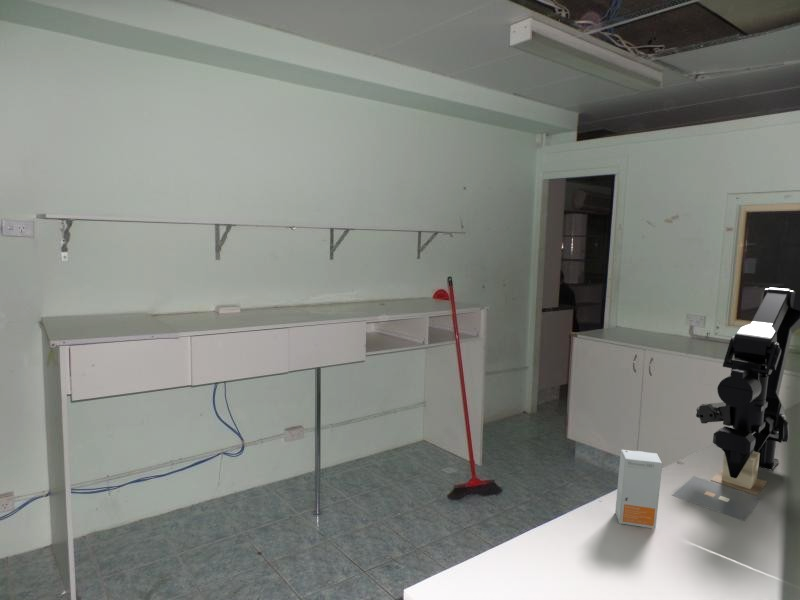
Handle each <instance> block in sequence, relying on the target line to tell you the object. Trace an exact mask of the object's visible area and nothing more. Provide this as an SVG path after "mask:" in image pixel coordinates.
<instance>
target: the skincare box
mask: <svg viewBox="0 0 800 600" xmlns="http://www.w3.org/2000/svg"><path fill="white" fill-rule="evenodd" d="M662 470H663V462H662V461H661V458H660V457H659V455H658V453H656V452H649V451H648V452H647V451H641V450H628V449H620V457H619V468H618V479H617V488H616V489H617V491H616V498H615V500H616V501H615V514H616V517H617V521H618V524H622V525H629V526H635V527H636V526H637V527H642V528H648V529H652V528H653V530H655V529H656V526H657V519H658V508H659V501H660V500H659V499H660V489H661V481H662Z"/></svg>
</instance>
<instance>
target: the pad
mask: <svg viewBox="0 0 800 600" xmlns="http://www.w3.org/2000/svg"><path fill="white" fill-rule="evenodd" d="M722 471H723V468H722V469H720V470H719V471H718V472H717V473H716V474H715V475H714V476H713V477H711V479H710V481H711V482H714V483H717V484H720V485H723V486H727V487H730V488H733V489H736V490H739V491H742V492H745V493H748V494H751V495H754V496H758V495H759V494H760V492H761V491H762V490H763V488H764V487H765V486H766V485H767V483H768V480H763V479H760V478H757V481H756V483H755V484H754V485H753V486H752V488H751V489H748V488H745V487H742V486H739V485H735V484H732V483H729V482H726V481H722Z"/></svg>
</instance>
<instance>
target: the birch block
mask: <svg viewBox="0 0 800 600" xmlns="http://www.w3.org/2000/svg"><path fill="white" fill-rule="evenodd" d="M723 452H724V451H723ZM759 457H760V453H758V452H755V451H753V453H752V455H751V456H750V458H749V459H748V461H747V463H746V464H745V466H744V467H743V469H742V471H741V472H740V474H739V475H738V477H737V478H732V477H730V473H729V469H728V464H727V460H726V456H725V452H724V454H723V463H722V469H723V471H722V481H726V482H729V483H732V484H735V485H739V486H742V487H745V488H748V489H751V488H752V486H753V485H754V484H755V483H756V481H757V479H758V472H759Z"/></svg>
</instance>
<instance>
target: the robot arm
mask: <svg viewBox="0 0 800 600" xmlns="http://www.w3.org/2000/svg"><path fill="white" fill-rule="evenodd" d="M760 299H761V300H760V304H759V307H758V309H757V311H756V312H755V314H754V316H753V318H752V320H751V322H750V323H749V324H745V325H743V326H741V327H740V328H738V330H737V331H736V332H735V334H734V336H731V338H730V340H729V343H728V346H727V350H726V352H725V353H726V354H725V357H724V360H723V364H722V367H723V368H728V369H730V374H729V375H728V376H726V377H724V378H723V379H722V380H721V381H720V382H719V383H718V386H717V388H716V389H717V395H718V397H719V399H720V401H721V402H712V403H702V404H700V405H699V406H698V407H697V408H696V414H695V417H697V418H698V419H699V420H700V423H701V424H708V423H717V422H722V425H723V426H722V427H721V428H719V429H718V430H716V431H715V432H714V433H713V436H712V437H713V438H712V443H713V444H714V445H715V446H716V447H717V448H720V449H721V450H722V451H723V452H725V456H726V460H727V464H728V469H729V473H730V477H732V478H737V477H738V475H739V474H740V472H741V471H742V469H743V467H744V466H745V464H746V463H747V461H748V459H749V458H750V456H751V455H752V453H753V451H755V452H758V453H760V457H759V466H758V468H759V467H760V468H763V469H767V470H770V469H771V470H770V471H773V469H775V467H776V465H778V464H779V462H780V459H778V458H775V456H776V448H777V442H778V443H779V444H782V443H783V442H785V443H788V441H789V437H790V431H789V429H790V428H789V421H787V415H786V414H785V408H784V405H783V403H782V400H781V399H780V397H779V395H780V389H781V386H782V381H783V376H784V372H785V367H786V363H787V359H788V353H789V350H790V344H791V339H792V337H793V334H794V333H795V332H796V331H797V330H799V329H800V293H799V292H796V291H795V290H791V288H781V287H780V288H779V287H769V288H768V287H767V288H765V289H764V291H763V292H762V293H761V298H760Z"/></svg>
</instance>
